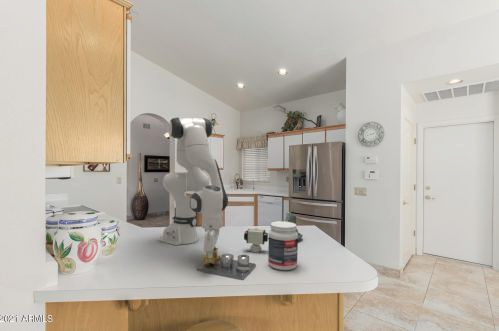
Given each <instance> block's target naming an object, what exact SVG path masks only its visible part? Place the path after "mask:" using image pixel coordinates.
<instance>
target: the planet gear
mask: <svg viewBox="0 0 499 331" xmlns="http://www.w3.org/2000/svg"><path fill="white" fill-rule="evenodd" d="M218 248H219V247H216V246H215V247H214V249H213V257H212V258H208V252H205V254H204V255H203V257H202V262H203V263H205V262H206V263H207V264H208V263H212V264H214V263H215V262H220V258H221V255H218V253H219V252H218Z"/></svg>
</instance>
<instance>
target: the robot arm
mask: <svg viewBox="0 0 499 331" xmlns="http://www.w3.org/2000/svg"><path fill="white" fill-rule="evenodd" d="M168 132H169V135H170V136H171V138H173V139H177V140H176V163H177V164H178V165H179V166H180V167H182V168H184V169H185V170H187V172H174V171H173V172H170V173H166V174H165V175H164V177H163V178H162V186H163V188H164V189H165V191H167V192H168V193H169V194H170V195H171V196H172V197H173V198H172V199H173V200H174V202H175V215H174V216H171V220H172V223H170V224H169V225H167V226H166V227H165V228H164V230H163V232H162V235H161V236H160V237H159V238H158V241H159V242H163V243H166V244H170V245H173V246H174V245H175V246H178V245H187V244H188V245H189V244H194V243H196V242H197V241H199V238H198V233H197V214H201V213H202V215H201V228H202V229H204V241H203V250H204V252H205V253H206V252H208V258H212V257H213V249H214V247H216V244H217V241H218V239H219V235H220V229H222V228H223V212H224V210H225V209H226V208H227V207H228V204H229V198H228V195H227V192H226V189H225V187H224V183H223V179H222V174H221V171H220V168H219V165H218V162H217V160H216V158H214V157H213V156H212V153H211V150H210V144H209V140H208V138H209V137H211V136H212V133H213V123H212V122H211V120H210V119H208V118H202V117H201V118H200V117H191V116H190V117H172V118H171V119H170V121H169V123H168ZM204 171H205V172H206V173H207V174H208V175H209V177H208V175H207V174H206V173H205V172H204ZM210 184H211V185H210ZM186 192H187V193H188V192H193V193H192V195H191V196H190V197H188V196H187V195H186V194H185V193H186ZM196 213H197V214H196Z"/></svg>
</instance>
